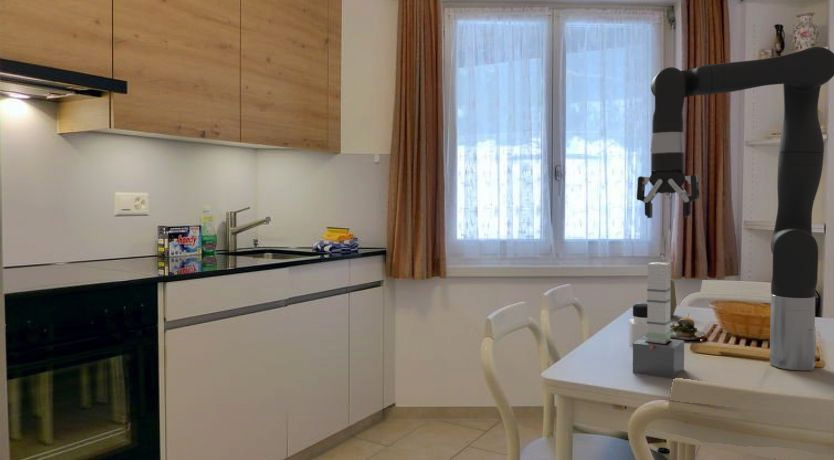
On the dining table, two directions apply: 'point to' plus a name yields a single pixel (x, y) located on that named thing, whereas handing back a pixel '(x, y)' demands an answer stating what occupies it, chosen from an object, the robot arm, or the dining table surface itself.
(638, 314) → the medicine bottle
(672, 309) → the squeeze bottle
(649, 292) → the column
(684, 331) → the burger
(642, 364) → the sleeve
